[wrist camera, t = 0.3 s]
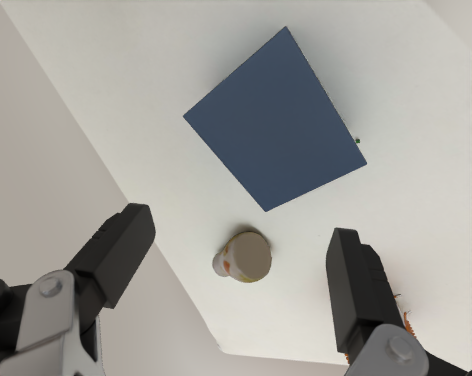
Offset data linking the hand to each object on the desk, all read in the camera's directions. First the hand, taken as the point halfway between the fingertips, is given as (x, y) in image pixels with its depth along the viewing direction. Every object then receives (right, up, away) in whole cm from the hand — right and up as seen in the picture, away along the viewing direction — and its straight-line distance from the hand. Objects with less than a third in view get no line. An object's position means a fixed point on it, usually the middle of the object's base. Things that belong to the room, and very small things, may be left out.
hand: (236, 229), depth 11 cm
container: (+5, +10, +16) cm, 20 cm away
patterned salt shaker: (+1, -8, +30) cm, 31 cm away
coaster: (+13, +7, +17) cm, 22 cm away
